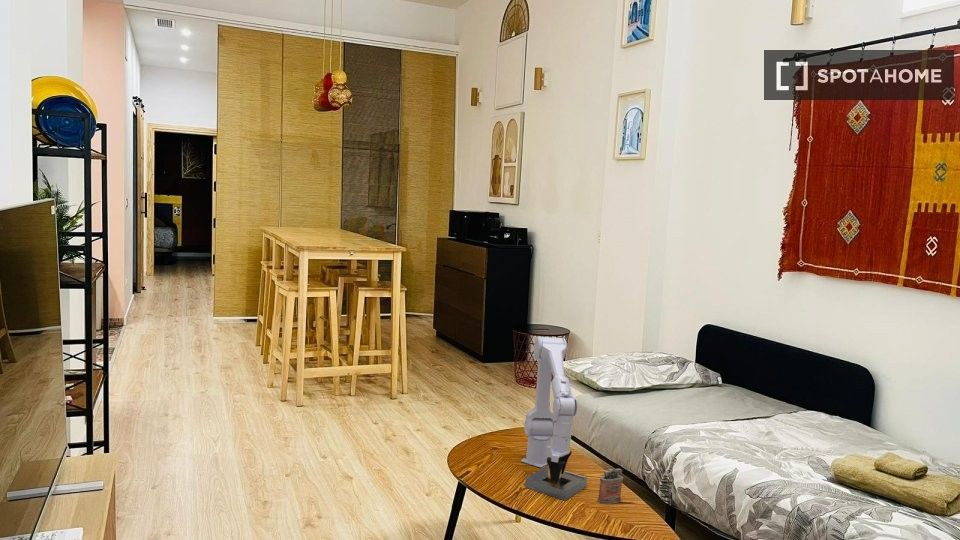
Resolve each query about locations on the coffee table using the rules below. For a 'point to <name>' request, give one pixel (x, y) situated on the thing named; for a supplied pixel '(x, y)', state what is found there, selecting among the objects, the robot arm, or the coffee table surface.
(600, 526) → the coffee table surface
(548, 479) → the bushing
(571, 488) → the jig
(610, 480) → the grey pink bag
